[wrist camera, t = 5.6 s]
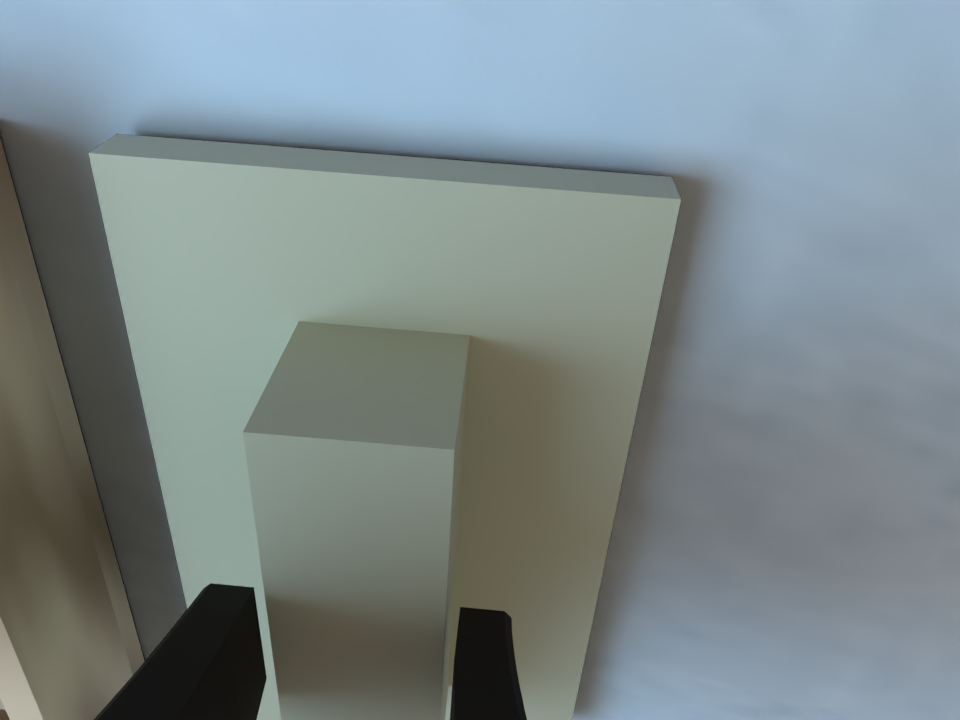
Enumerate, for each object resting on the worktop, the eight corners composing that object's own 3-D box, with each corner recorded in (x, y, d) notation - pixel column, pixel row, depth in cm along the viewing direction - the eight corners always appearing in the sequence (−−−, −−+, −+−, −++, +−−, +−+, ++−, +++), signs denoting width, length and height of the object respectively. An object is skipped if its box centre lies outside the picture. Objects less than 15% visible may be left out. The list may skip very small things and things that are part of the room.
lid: (561, 696, 18) (567, 893, 14) (236, 667, 18) (166, 856, 14) (664, 159, 11) (721, 294, 8) (139, 118, 11) (-33, 234, 8)
